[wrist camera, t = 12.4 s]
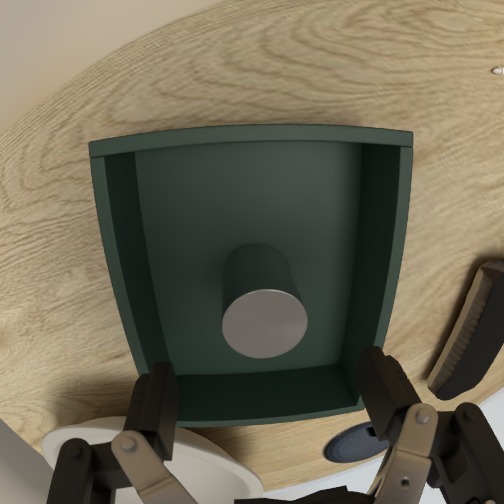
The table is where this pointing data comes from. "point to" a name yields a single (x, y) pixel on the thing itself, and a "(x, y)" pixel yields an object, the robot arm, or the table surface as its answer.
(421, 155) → the table surface
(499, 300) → the bristle scrub brush
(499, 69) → the picture light
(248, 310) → the metal cylinder
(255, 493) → the soup bowl
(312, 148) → the bin
